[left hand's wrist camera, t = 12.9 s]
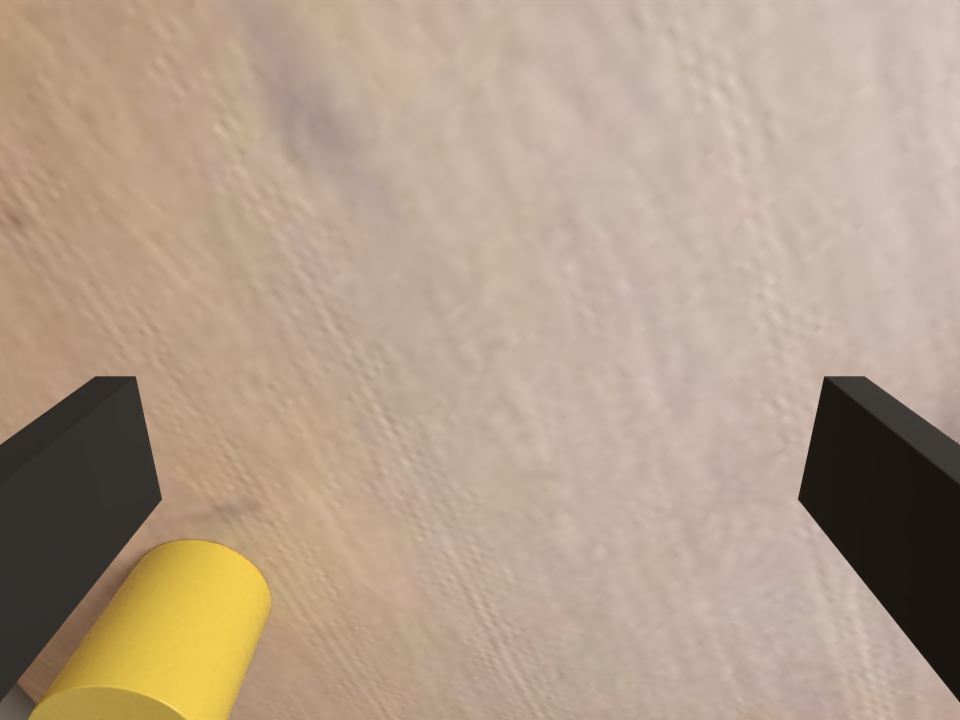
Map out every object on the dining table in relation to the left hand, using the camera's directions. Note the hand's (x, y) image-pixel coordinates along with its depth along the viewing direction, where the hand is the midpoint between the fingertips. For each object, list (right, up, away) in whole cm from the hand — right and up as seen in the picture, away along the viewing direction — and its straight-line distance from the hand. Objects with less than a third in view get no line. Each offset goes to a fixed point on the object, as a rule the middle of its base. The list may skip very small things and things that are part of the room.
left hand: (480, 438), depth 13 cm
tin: (-18, -13, +29) cm, 36 cm away
